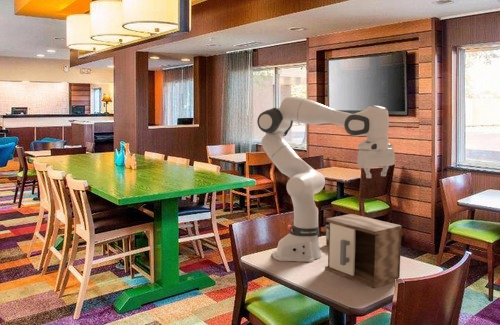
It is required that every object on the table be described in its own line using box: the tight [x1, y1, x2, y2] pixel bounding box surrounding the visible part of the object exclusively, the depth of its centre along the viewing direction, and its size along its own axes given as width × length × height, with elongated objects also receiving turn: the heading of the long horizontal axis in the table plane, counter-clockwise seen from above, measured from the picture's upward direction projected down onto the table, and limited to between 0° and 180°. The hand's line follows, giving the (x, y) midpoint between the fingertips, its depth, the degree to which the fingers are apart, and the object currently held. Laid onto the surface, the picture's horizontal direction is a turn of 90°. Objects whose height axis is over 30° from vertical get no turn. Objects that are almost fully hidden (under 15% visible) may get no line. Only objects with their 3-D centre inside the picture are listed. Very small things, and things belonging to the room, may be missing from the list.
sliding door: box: [329, 223, 356, 276], centre depth 194 cm, size 5×13×19 cm, turn 36°
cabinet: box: [324, 213, 402, 289], centre depth 196 cm, size 16×26×22 cm, turn 36°
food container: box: [325, 224, 329, 247], centre depth 235 cm, size 12×6×10 cm, turn 17°
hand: (376, 177), depth 202 cm, fingers open, 8 cm apart
